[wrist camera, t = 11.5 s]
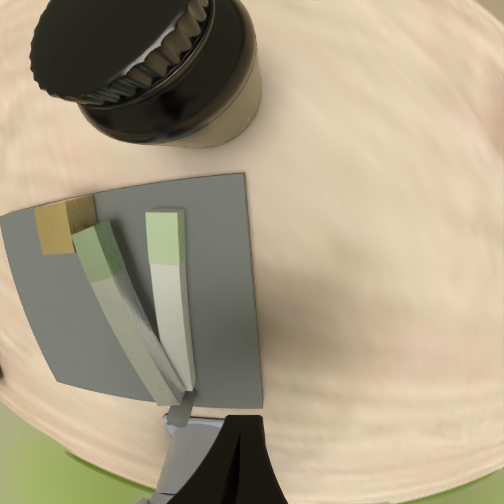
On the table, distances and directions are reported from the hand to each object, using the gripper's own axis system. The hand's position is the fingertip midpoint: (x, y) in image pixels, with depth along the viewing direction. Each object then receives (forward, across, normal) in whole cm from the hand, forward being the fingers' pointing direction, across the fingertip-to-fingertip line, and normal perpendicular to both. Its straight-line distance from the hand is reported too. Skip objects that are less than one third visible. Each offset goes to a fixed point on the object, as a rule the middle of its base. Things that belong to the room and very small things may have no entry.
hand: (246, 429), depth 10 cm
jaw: (+7, +8, -1) cm, 11 cm away
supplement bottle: (+10, +2, -14) cm, 18 cm away
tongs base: (+10, +11, 0) cm, 15 cm away
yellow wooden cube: (+9, +11, -8) cm, 16 cm away
